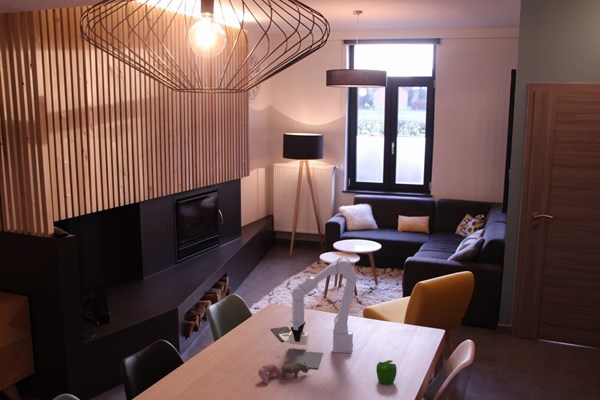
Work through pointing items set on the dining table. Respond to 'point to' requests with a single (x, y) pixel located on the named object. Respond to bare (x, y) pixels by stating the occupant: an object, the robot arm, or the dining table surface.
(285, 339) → the chocolate bar
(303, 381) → the dining table surface
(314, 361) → the charcoal mat
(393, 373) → the bell pepper
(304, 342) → the card deck
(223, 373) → the dining table surface
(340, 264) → the robot arm
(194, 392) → the dining table surface
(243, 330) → the dining table surface
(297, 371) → the rhino figurine
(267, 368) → the pink gorilla figurine
